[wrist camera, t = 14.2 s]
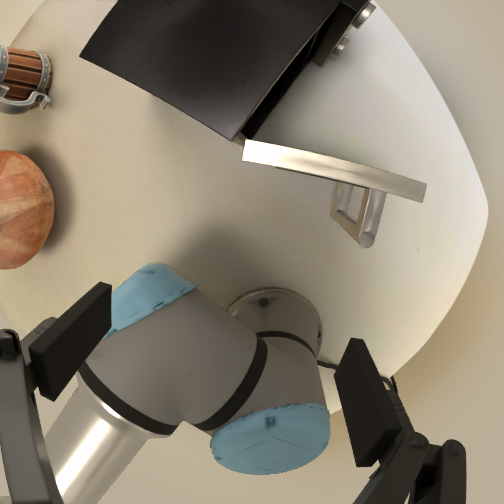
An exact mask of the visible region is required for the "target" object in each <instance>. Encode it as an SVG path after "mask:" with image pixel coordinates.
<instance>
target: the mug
mask: <svg viewBox="0 0 504 504" xmlns="http://www.w3.org/2000/svg"><path fill="white" fill-rule="evenodd" d="M51 78H52V63H51V61H50V59H49V57H48V56H47V55H45V54H43V53H41V52H37V51H26V50H21V49H15V48H9V47H5V46H3V45H0V112H1V113H5V114H22V113H25V112H27V111H28V110H29V109H32V108H33V107H35V106H36V105H37V104H38V103H39V104H40V105H39V106H40V107H41V109H45V108H46V107H47V105H48V104H49V102H50V98H49V97H48V96H47V95H45V94H46V92H47V90H48V88H49V85H50V82H51Z"/></svg>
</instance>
